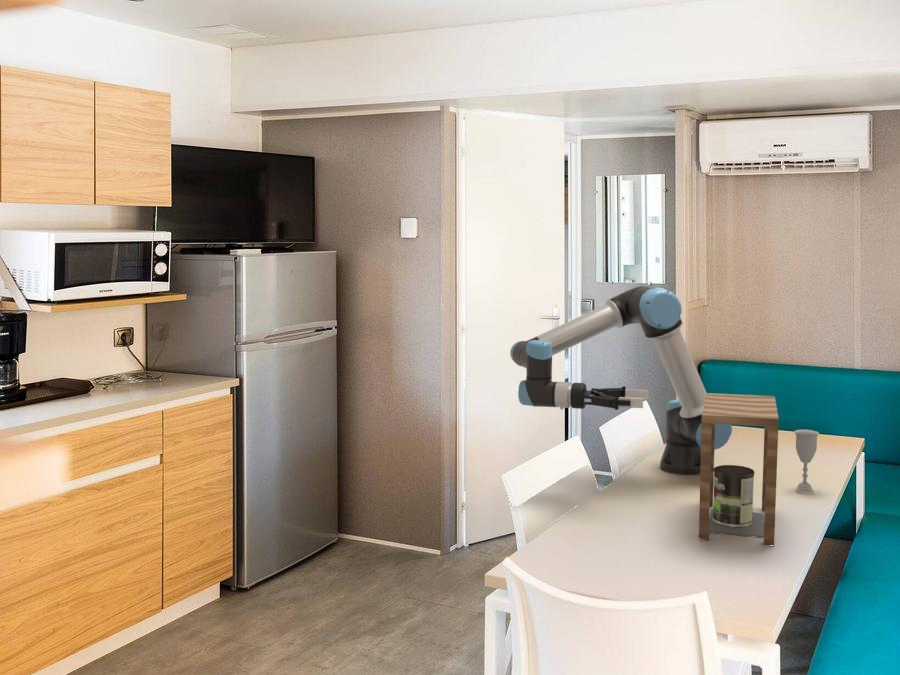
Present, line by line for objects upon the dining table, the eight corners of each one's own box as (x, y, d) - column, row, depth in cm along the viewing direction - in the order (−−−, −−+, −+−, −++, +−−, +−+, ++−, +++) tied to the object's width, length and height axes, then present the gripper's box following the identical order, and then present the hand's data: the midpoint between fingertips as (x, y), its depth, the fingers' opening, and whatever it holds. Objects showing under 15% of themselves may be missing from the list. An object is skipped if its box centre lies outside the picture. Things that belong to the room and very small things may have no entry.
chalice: (818, 495, 267) (821, 435, 265) (794, 494, 268) (796, 434, 266) (814, 488, 274) (816, 430, 272) (790, 487, 275) (792, 429, 273)
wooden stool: (704, 503, 260) (707, 393, 256) (770, 508, 254) (774, 396, 251) (698, 539, 230) (701, 414, 226) (774, 546, 224) (778, 419, 220)
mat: (710, 510, 253) (710, 508, 253) (763, 514, 249) (763, 513, 249) (707, 532, 235) (707, 531, 235) (765, 537, 230) (765, 536, 230)
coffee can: (720, 528, 237) (722, 475, 235) (706, 515, 247) (708, 465, 245) (759, 526, 238) (760, 474, 236) (743, 514, 248) (745, 464, 246)
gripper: (578, 400, 277) (649, 404, 271) (563, 416, 254) (640, 420, 247) (579, 376, 276) (650, 379, 270) (563, 389, 253) (640, 393, 246)
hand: (645, 399), depth 259 cm, fingers open, 13 cm apart
